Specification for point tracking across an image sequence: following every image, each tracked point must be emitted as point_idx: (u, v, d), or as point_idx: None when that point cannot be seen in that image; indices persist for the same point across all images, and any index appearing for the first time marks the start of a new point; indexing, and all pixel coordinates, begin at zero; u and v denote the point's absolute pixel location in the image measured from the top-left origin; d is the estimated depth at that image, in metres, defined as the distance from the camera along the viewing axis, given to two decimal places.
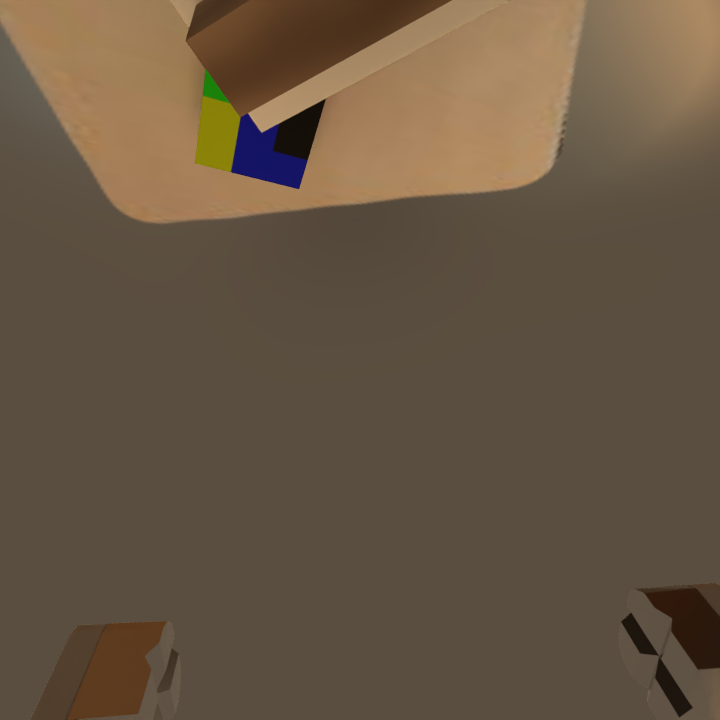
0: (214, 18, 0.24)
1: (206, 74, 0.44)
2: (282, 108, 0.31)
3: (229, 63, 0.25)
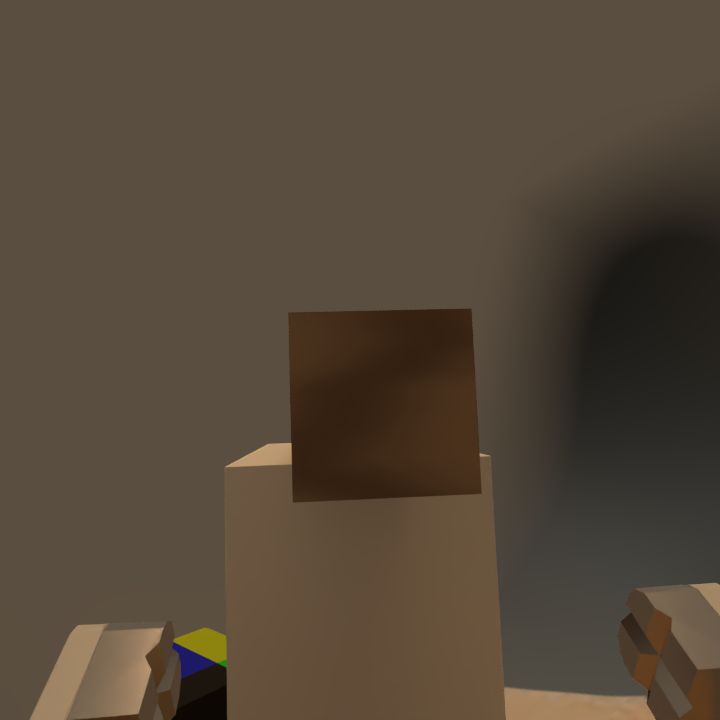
0: None
1: None
2: (275, 445, 0.34)
3: None
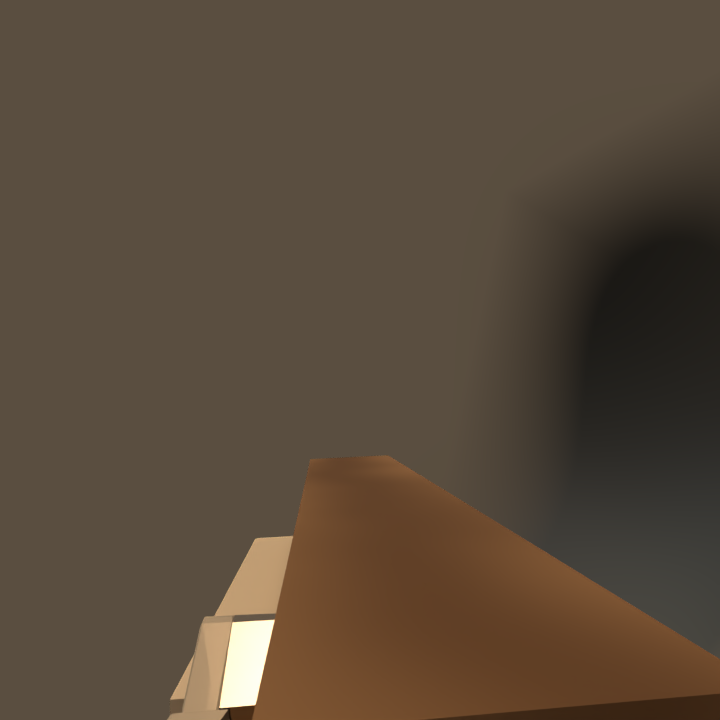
0: None
1: None
2: (264, 546, 0.26)
3: (357, 458, 0.27)
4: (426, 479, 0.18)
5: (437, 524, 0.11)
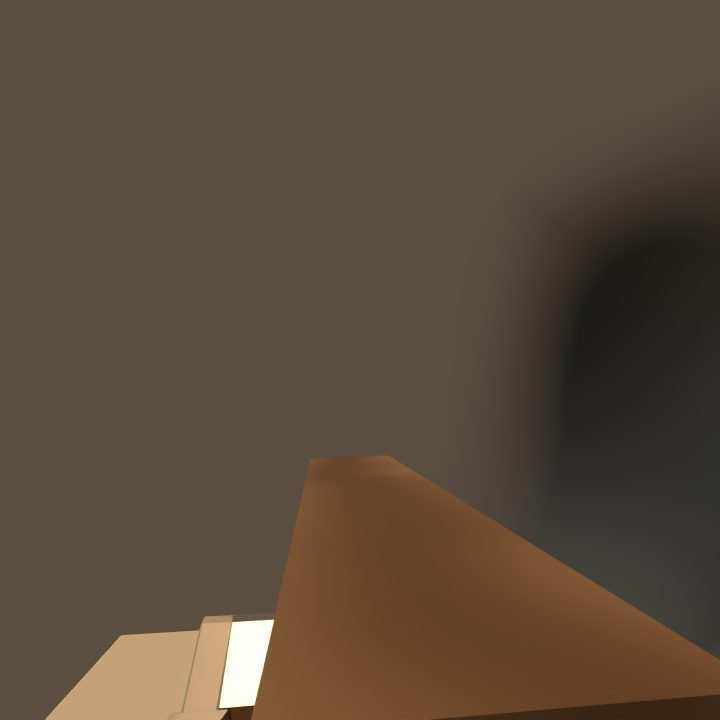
0: None
1: None
2: (120, 646, 0.34)
3: (357, 458, 0.27)
4: (426, 479, 0.18)
5: (437, 524, 0.11)
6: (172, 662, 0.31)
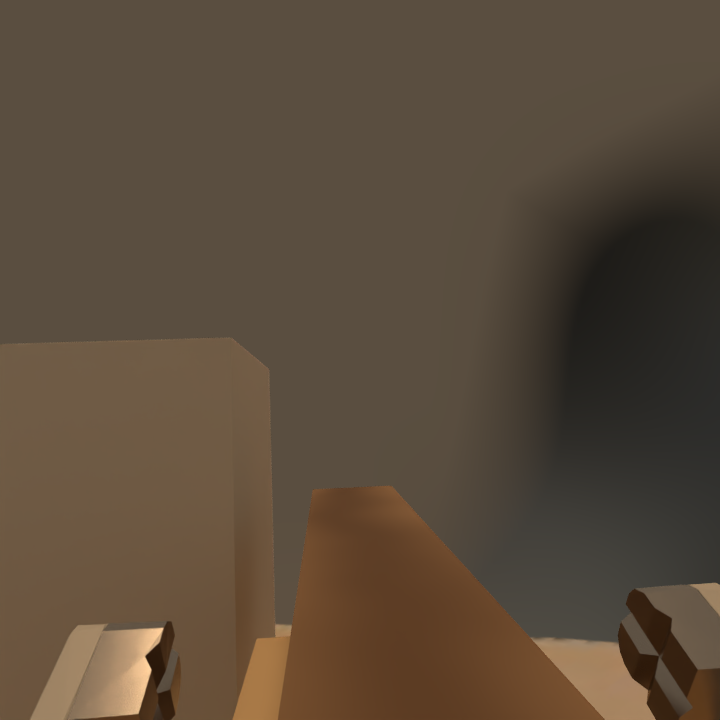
0: None
1: None
2: None
3: (360, 490, 0.27)
4: (430, 529, 0.17)
5: (440, 608, 0.10)
6: None
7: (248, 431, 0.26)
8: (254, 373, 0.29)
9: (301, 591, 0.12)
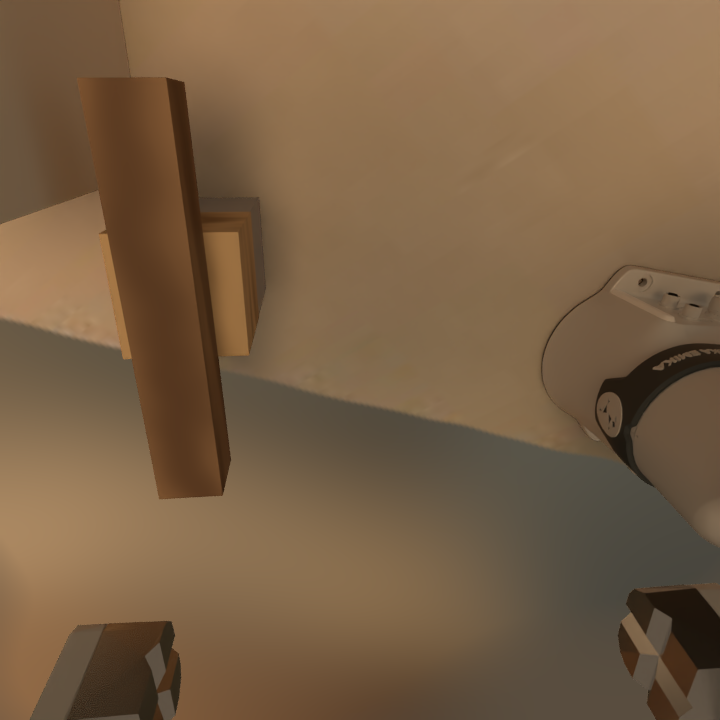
0: (173, 113, 0.26)
1: None
2: None
3: (133, 104, 0.25)
4: (194, 293, 0.29)
5: (190, 406, 0.32)
6: None
7: None
8: None
9: (138, 385, 0.31)
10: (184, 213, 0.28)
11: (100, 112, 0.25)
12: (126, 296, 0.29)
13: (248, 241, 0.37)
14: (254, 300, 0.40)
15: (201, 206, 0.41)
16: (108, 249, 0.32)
